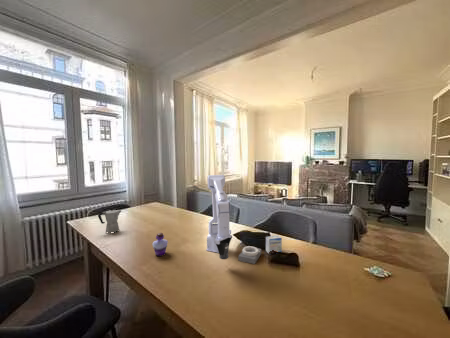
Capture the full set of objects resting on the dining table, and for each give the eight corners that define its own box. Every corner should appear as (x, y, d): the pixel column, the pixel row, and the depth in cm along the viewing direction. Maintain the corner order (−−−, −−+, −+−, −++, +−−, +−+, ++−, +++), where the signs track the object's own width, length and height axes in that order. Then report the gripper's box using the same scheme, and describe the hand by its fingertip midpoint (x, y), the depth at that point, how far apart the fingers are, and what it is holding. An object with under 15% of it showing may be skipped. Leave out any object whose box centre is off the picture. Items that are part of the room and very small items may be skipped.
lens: (217, 258, 102) (217, 244, 101) (221, 254, 106) (221, 240, 105) (226, 260, 100) (226, 245, 100) (229, 256, 104) (229, 242, 104)
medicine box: (269, 254, 117) (269, 239, 116) (265, 251, 121) (265, 236, 121) (281, 252, 119) (282, 237, 118) (277, 249, 123) (277, 234, 123)
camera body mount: (238, 260, 110) (238, 253, 110) (246, 250, 122) (246, 243, 122) (255, 264, 107) (255, 256, 106) (261, 253, 118) (261, 246, 118)
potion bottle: (171, 251, 121) (170, 231, 121) (163, 258, 113) (162, 237, 112) (158, 250, 124) (157, 230, 123) (149, 256, 115) (148, 235, 115)
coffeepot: (120, 227, 163) (119, 205, 161) (123, 231, 155) (122, 207, 154) (97, 232, 153) (96, 208, 152) (100, 236, 146) (98, 211, 144)
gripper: (224, 231, 94) (225, 261, 95) (236, 222, 107) (236, 248, 108) (211, 229, 97) (211, 258, 98) (224, 220, 110) (224, 245, 111)
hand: (223, 252), depth 103 cm, fingers closed on lens, 4 cm apart
